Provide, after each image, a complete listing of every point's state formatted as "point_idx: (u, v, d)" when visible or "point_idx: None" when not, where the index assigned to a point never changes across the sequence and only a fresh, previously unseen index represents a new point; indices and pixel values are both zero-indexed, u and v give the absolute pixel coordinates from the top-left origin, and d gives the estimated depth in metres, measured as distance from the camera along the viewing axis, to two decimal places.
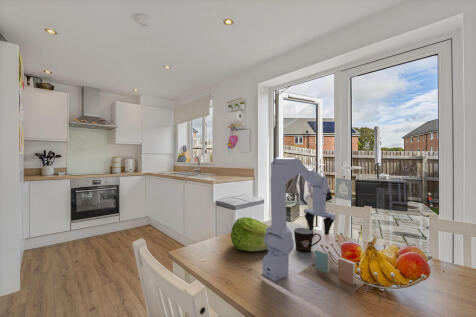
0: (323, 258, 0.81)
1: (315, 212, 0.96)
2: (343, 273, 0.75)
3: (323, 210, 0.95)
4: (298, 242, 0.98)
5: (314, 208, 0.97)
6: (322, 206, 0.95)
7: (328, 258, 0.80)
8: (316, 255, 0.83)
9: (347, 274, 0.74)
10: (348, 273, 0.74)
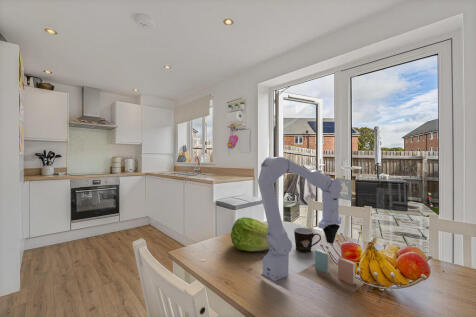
0: (323, 258, 0.81)
1: None
2: (343, 273, 0.75)
3: (324, 217, 0.85)
4: (298, 242, 0.98)
5: None
6: (323, 212, 0.85)
7: (328, 258, 0.80)
8: (316, 255, 0.83)
9: (347, 274, 0.74)
10: (348, 273, 0.74)
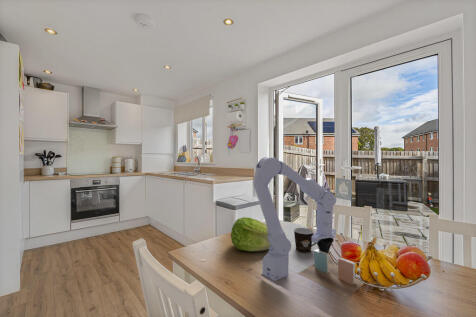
0: (322, 259, 0.80)
1: None
2: (343, 273, 0.75)
3: (318, 230, 0.82)
4: (298, 242, 0.98)
5: None
6: (317, 225, 0.82)
7: (327, 258, 0.79)
8: (315, 256, 0.82)
9: (347, 274, 0.74)
10: (348, 273, 0.74)
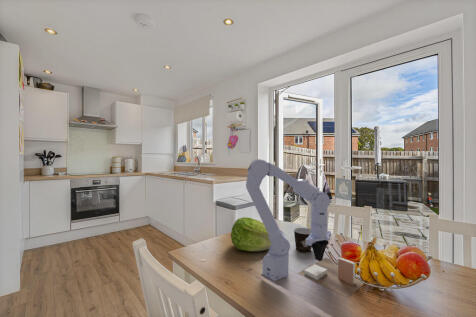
0: None
1: None
2: (343, 273, 0.75)
3: (312, 232, 0.79)
4: (298, 242, 0.98)
5: None
6: (311, 227, 0.80)
7: (319, 276, 0.76)
8: None
9: (347, 274, 0.74)
10: (348, 273, 0.74)
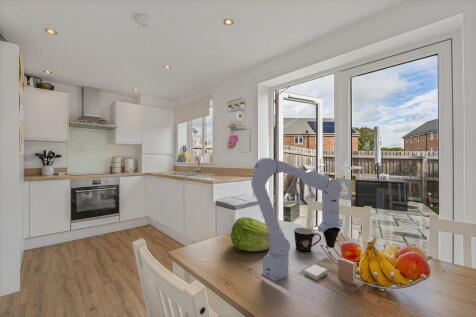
0: None
1: None
2: (343, 273, 0.75)
3: (324, 219, 0.79)
4: (298, 242, 0.98)
5: None
6: (323, 214, 0.80)
7: (319, 276, 0.76)
8: None
9: (347, 274, 0.74)
10: (348, 273, 0.74)
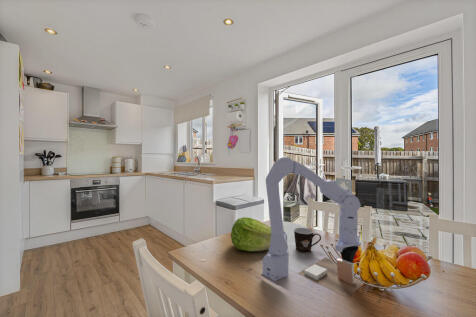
0: None
1: None
2: (342, 274, 0.75)
3: (341, 237, 0.74)
4: (298, 242, 0.98)
5: None
6: (340, 231, 0.75)
7: (319, 276, 0.76)
8: None
9: (346, 275, 0.74)
10: (347, 273, 0.73)
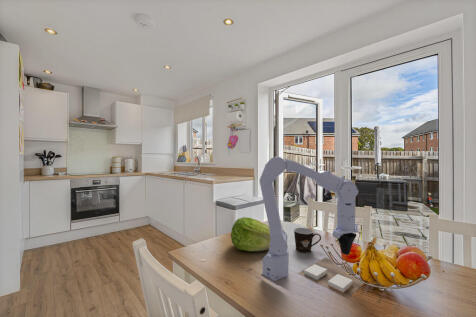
0: None
1: None
2: None
3: (339, 224, 0.74)
4: (298, 242, 0.98)
5: None
6: (338, 219, 0.75)
7: (319, 276, 0.76)
8: None
9: None
10: None
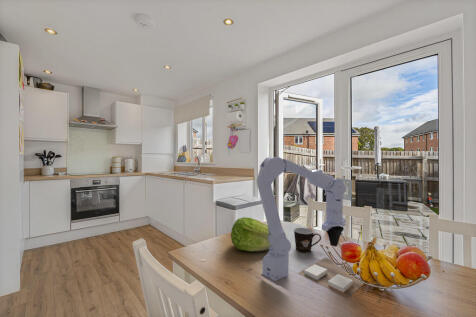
0: None
1: None
2: None
3: (328, 218, 0.81)
4: (298, 242, 0.98)
5: None
6: (327, 213, 0.82)
7: (319, 276, 0.76)
8: None
9: None
10: None
